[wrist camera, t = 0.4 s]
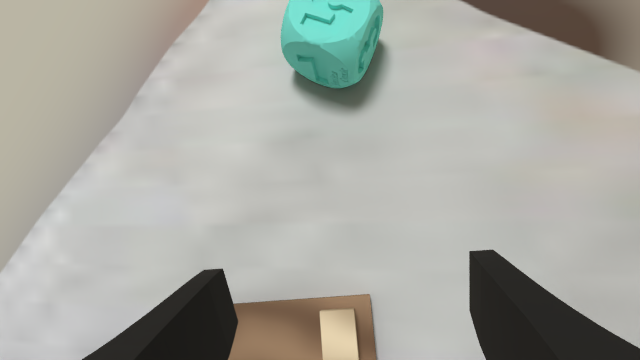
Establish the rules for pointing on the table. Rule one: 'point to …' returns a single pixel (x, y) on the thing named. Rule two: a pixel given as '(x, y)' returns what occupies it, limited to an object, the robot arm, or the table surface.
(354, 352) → the link
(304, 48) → the decorative dice
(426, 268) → the table surface
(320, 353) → the board
